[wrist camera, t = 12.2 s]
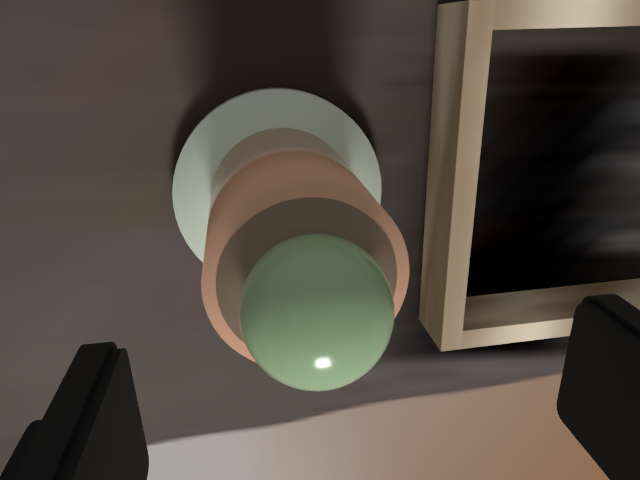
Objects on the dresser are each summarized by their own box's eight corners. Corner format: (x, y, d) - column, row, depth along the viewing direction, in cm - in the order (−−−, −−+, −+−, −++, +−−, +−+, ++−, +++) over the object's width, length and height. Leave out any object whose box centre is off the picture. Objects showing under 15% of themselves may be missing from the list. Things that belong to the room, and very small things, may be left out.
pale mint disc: (377, 83, 22) (383, 85, 21) (373, 271, 25) (379, 280, 24) (160, 92, 20) (157, 95, 19) (188, 289, 24) (186, 300, 23)
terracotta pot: (351, 124, 21) (471, 221, 10) (349, 255, 23) (446, 441, 13) (204, 131, 20) (175, 243, 10) (218, 266, 22) (207, 474, 12)
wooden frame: (770, -2, 23) (873, -9, 19) (687, 288, 29) (753, 325, 25) (437, 4, 21) (482, -2, 17) (418, 318, 26) (449, 364, 23)
